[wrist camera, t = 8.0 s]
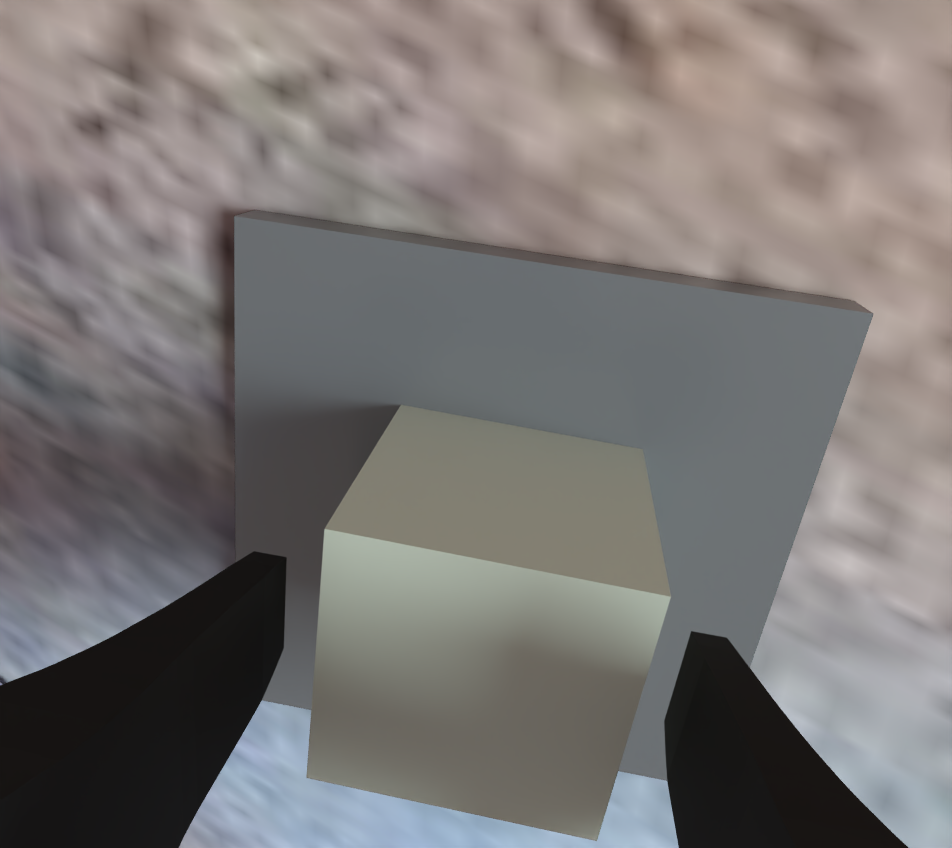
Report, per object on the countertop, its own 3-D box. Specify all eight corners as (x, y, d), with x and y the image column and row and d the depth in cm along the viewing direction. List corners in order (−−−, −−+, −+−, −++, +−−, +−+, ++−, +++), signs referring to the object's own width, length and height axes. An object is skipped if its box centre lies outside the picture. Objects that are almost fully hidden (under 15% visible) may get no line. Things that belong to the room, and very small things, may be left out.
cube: (378, 601, 17) (306, 777, 13) (401, 405, 15) (324, 528, 11) (591, 644, 17) (596, 841, 12) (642, 449, 15) (670, 597, 10)
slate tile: (251, 668, 20) (235, 694, 19) (255, 210, 15) (234, 216, 14) (701, 756, 19) (707, 788, 18) (854, 301, 14) (873, 313, 13)
